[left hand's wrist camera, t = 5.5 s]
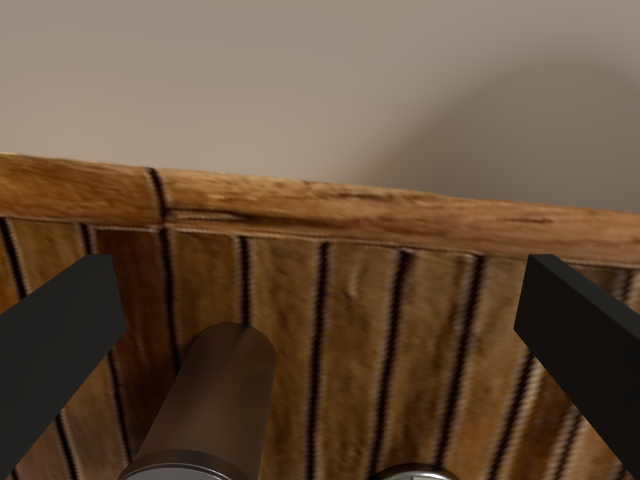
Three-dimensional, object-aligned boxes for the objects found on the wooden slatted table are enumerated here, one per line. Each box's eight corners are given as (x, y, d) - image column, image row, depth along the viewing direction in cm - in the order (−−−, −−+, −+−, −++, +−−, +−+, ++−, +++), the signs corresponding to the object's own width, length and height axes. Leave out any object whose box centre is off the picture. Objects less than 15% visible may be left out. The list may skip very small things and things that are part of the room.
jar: (197, 313, 45) (118, 456, 28) (284, 332, 46) (263, 482, 28) (185, 383, 49) (110, 548, 31) (267, 399, 50) (238, 569, 32)
